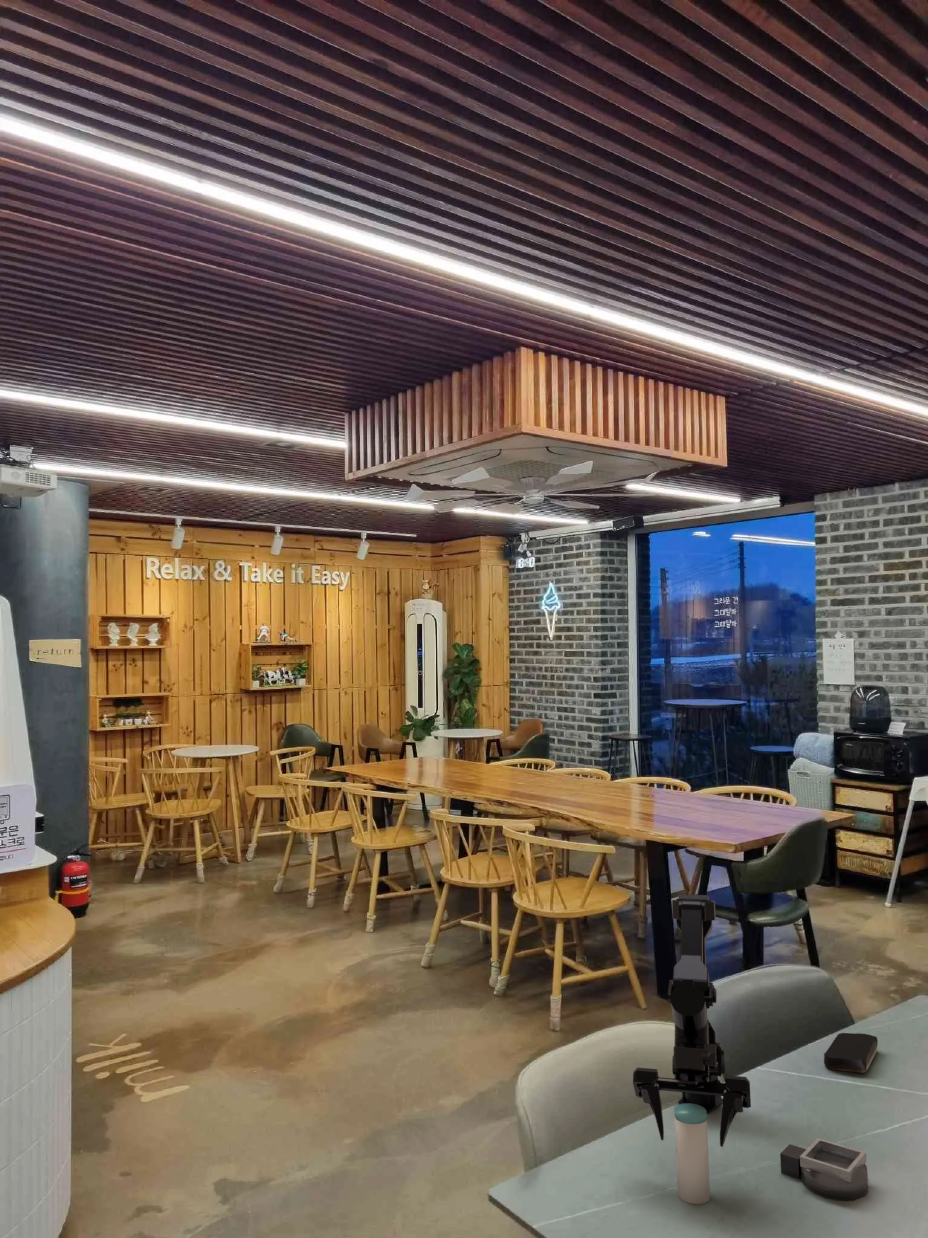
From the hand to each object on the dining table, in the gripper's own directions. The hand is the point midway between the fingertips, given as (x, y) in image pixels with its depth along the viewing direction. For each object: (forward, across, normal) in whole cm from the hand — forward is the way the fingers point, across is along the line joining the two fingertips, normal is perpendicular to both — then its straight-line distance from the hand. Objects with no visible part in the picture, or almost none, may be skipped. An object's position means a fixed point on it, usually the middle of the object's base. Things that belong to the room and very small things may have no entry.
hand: (691, 1142), depth 147 cm
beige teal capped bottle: (+6, 0, +6) cm, 8 cm away
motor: (-1, +20, +12) cm, 24 cm away
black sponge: (-37, +30, +49) cm, 68 cm away
